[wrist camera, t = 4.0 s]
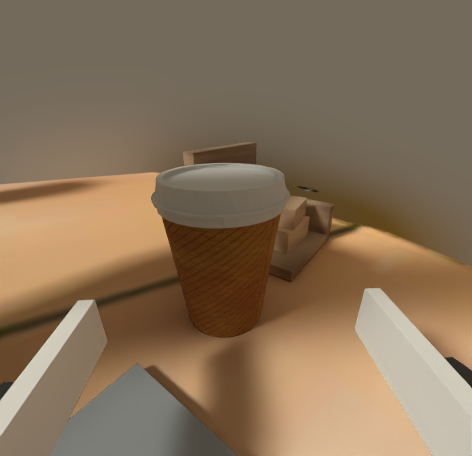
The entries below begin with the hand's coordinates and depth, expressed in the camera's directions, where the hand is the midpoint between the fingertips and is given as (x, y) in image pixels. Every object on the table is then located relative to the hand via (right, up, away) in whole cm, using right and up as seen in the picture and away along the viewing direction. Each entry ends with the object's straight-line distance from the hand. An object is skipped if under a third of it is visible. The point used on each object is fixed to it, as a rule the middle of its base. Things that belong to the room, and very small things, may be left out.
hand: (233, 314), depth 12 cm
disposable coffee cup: (-1, -3, +10) cm, 10 cm away
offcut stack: (+4, +3, +20) cm, 21 cm away
